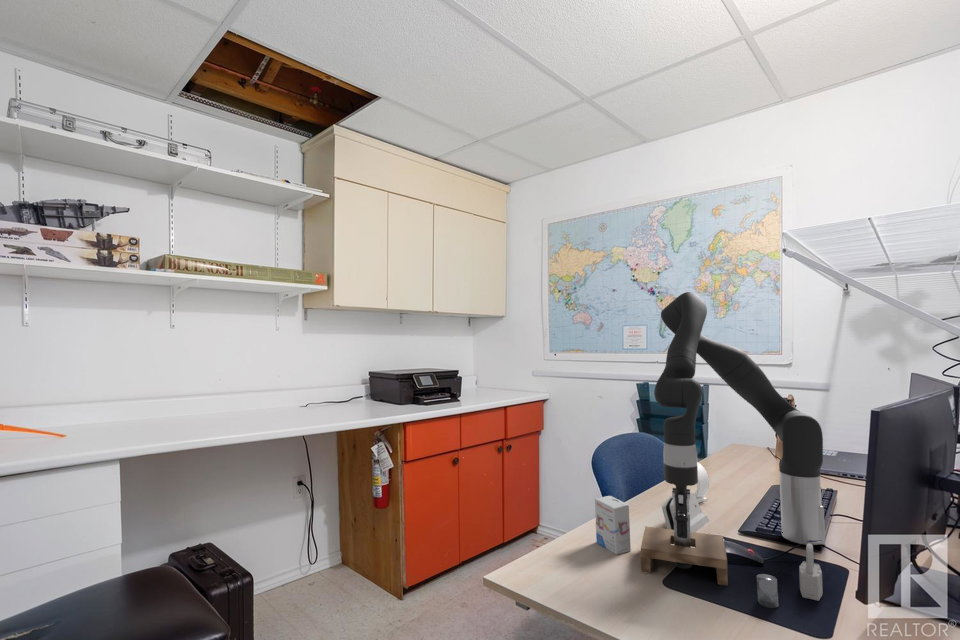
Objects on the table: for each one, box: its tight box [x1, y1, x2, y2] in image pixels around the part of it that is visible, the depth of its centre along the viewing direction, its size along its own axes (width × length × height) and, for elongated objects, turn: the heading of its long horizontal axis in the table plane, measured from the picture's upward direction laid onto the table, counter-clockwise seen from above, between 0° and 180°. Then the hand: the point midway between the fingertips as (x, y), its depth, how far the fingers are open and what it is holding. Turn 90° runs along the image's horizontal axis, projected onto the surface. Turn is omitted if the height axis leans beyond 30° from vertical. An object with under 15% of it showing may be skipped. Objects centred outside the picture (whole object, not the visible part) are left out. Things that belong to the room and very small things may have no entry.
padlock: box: [798, 543, 824, 602], centre depth 106 cm, size 7×4×10 cm, turn 144°
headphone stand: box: [694, 461, 710, 503], centre depth 164 cm, size 5×6×12 cm
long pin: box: [673, 512, 692, 570], centre depth 119 cm, size 4×4×12 cm
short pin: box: [756, 573, 779, 609], centre depth 102 cm, size 4×4×5 cm
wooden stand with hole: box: [640, 526, 729, 586], centre depth 119 cm, size 18×14×6 cm
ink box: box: [594, 495, 632, 555], centre depth 130 cm, size 9×5×12 cm, turn 23°
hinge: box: [661, 492, 710, 532], centre depth 143 cm, size 17×5×10 cm, turn 135°
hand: (682, 530), depth 119 cm, fingers open, 8 cm apart
